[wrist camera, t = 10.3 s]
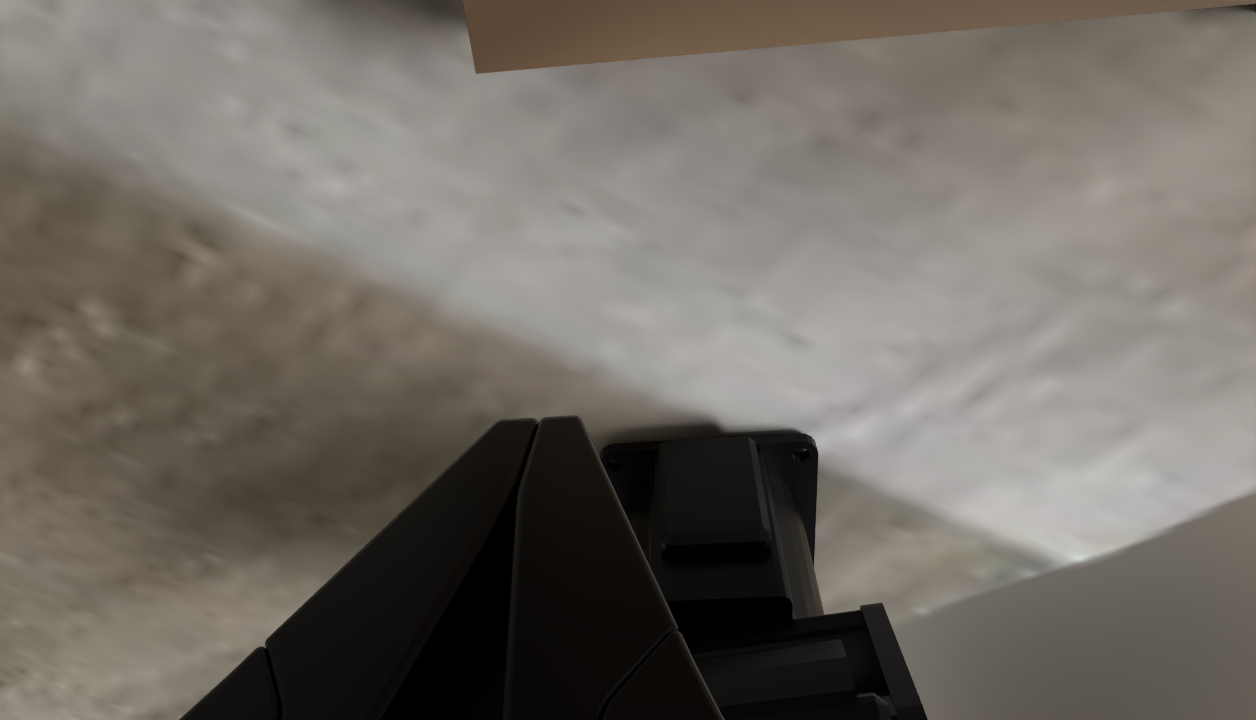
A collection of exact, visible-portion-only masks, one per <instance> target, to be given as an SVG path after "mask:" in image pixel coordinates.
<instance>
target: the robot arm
mask: <svg viewBox="0 0 1256 720" xmlns="http://www.w3.org/2000/svg"><path fill="white" fill-rule="evenodd" d="M800 448H803V449H807V450H806V451H804V452H803V453H799V454H798V453H794V451H795V450H797V449H800ZM614 458H615V459H620V460H621V461H622V462H620V463H612V462H610V461H609V460H611V459H614ZM817 473H818V451H817V447H816V443H815V440H814V439H813V438H812V437H811V436H809V435H807V434H801V433H797V434H779V435H761V436H738V437H721V438H703V439H685V440H668V441H655V442H637V443H619V444H611V445H607V446H606V447H604V448H603V449H602V451H601V452H600V458H599V456H598V453H597V451H596V449H595V447H594V445H593V443H592V441H591V438H590V436H589V434H588V432H587V430H586V428H585V425H584V423H583V421H582V419H581V418H580V417H578V416H575V415H572V416H555V417H545V418H543V419H541V420H540V422H539V421H538V420H537V419H535V418H519V419H503V420H499V421H498V422H496V423H495V424H494V425H493V426H492V427H491V428H490V429H489V430H487V431H486V432H485V433H484V434H483V435H482V436H481V437H480V438H479V439H478V440H477V441H476V442H475V443H474V444H473V445H472V446H471V447H469V448H468V449H467V450H466V451H465V452H464V453H463V454H462V455H461V456H460V457H459V458H458V459H457V460H456V461H455V462H454V463H453V464H451V465H450V466H449V467H448V468H447V469H446V470H445V471H444V472H443V473H442V474H441V475H440V476H439V477H438V478H437V479H436V480H435V481H434V482H432V483H431V484H430V485H429V486H428V487H427V488H426V489H425V490H424V491H423V492H422V493H421V494H420V495H419V496H418V497H417V498H416V499H414V500H413V501H412V502H411V503H410V504H409V505H408V506H407V507H406V508H405V509H404V510H403V511H402V512H401V513H400V514H399V515H398V516H396V517H395V518H394V519H393V520H392V521H391V522H390V523H389V524H388V525H387V526H386V527H385V528H384V529H383V530H382V531H381V532H380V533H378V534H377V535H376V536H375V537H374V538H373V539H372V540H371V541H370V542H369V543H368V544H367V545H366V546H365V547H364V548H363V549H362V550H360V551H359V552H358V553H357V554H356V555H355V556H354V557H353V558H352V559H351V560H350V561H349V562H348V563H347V564H346V565H345V566H344V567H343V568H341V569H340V570H339V571H338V572H337V573H336V574H335V575H334V576H333V577H332V578H331V579H330V580H329V581H328V582H327V583H326V584H325V585H323V586H322V587H321V588H320V589H319V590H318V591H317V592H316V593H315V594H314V595H313V596H312V597H311V598H310V599H309V600H308V601H307V602H305V603H304V604H303V605H302V606H301V607H300V608H299V609H298V610H297V611H296V612H295V613H294V614H293V615H292V616H291V617H290V618H289V619H287V620H286V621H285V622H284V623H283V624H282V625H281V626H280V627H279V628H278V629H277V630H276V631H275V632H274V633H273V634H272V635H271V636H269V637H268V638H267V640H266V642H265V646H266V648H264V647H258V648H256V649H255V650H254V651H253V652H252V653H251V654H250V655H249V656H248V657H247V658H246V659H245V660H244V661H243V662H242V663H240V664H239V665H238V666H237V667H236V668H235V669H234V670H233V671H232V672H231V673H230V674H229V675H228V676H227V677H226V678H225V679H223V680H222V681H221V682H220V683H219V684H218V685H217V686H216V687H215V688H214V689H212V690H211V691H210V692H209V693H208V694H207V695H206V696H205V697H204V698H203V699H201V700H200V701H199V702H198V703H197V704H196V705H195V706H194V707H193V708H191V709H190V710H189V711H188V712H187V713H186V714H185V715H184V716H183V717H182V718H180V719H179V720H927V717H926V714H925V712H924V709H923V706H922V703H921V701H920V698H919V695H918V693H917V690H916V688H915V686H914V683H913V680H912V678H911V675H910V672H909V670H908V667H907V665H906V662H905V660H904V657H903V655H902V652H901V650H900V647H899V644H898V642H897V640H896V637H895V634H894V632H893V629H892V627H891V624H890V621H889V619H888V616H887V614H886V611H885V609H884V606H883V604H882V603H876V604H869V605H862V606H860V610H856V611H849V612H842V613H834V614H827V615H824V611H823V607H822V602H821V598H820V593H819V589H818V584H817V580H816V575H815V571H814V549H815V523H816V498H817Z"/></svg>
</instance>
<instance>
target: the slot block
mask: <svg viewBox="0 0 1256 720" xmlns="http://www.w3.org/2000/svg"><path fill="white" fill-rule="evenodd" d="M1247 4H1256V0H463V5H464V11H465V16H466V21H467V27H468V32H469V38H470V43H471V49H472V54H473V60H474V65H475V71H476V74H478V73H489V72H500V71H512V70H523V69H534V68H545V67H556V66H567V65H578V64H590V63H601V62H612V61H623V60H634V59H645V58H656V57H668V56H679V55H690V54H701V53H712V52H723V51H734V50H746V49H757V48H768V47H779V46H790V45H801V44H812V43H824V42H835V41H846V40H857V39H868V38H879V37H890V36H902V35H913V34H924V33H935V32H946V31H957V30H968V29H979V28H991V27H1002V26H1013V25H1024V24H1035V23H1046V22H1057V21H1069V20H1080V19H1091V18H1102V17H1113V16H1124V15H1135V14H1147V13H1158V12H1169V11H1180V10H1191V9H1202V8H1213V7H1225V6H1236V5H1247Z"/></svg>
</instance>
